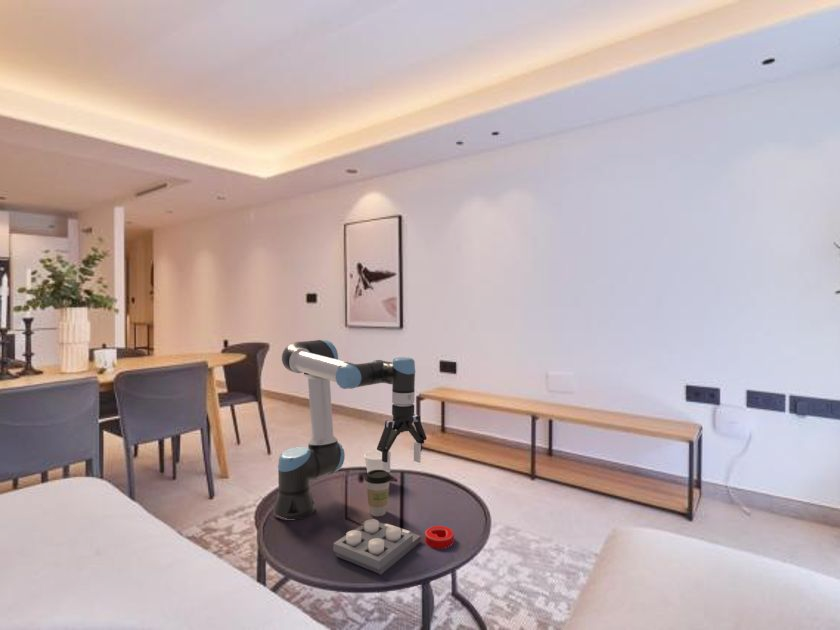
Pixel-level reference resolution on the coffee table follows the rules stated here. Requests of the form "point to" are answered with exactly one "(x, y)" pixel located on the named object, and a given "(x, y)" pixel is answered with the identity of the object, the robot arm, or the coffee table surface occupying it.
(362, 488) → the coffee table surface
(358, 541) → the inner button
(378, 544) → the outer button
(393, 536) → the outer button
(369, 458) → the cup
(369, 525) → the inner button
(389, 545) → the board
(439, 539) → the decorative ornament
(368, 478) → the coffee cup
